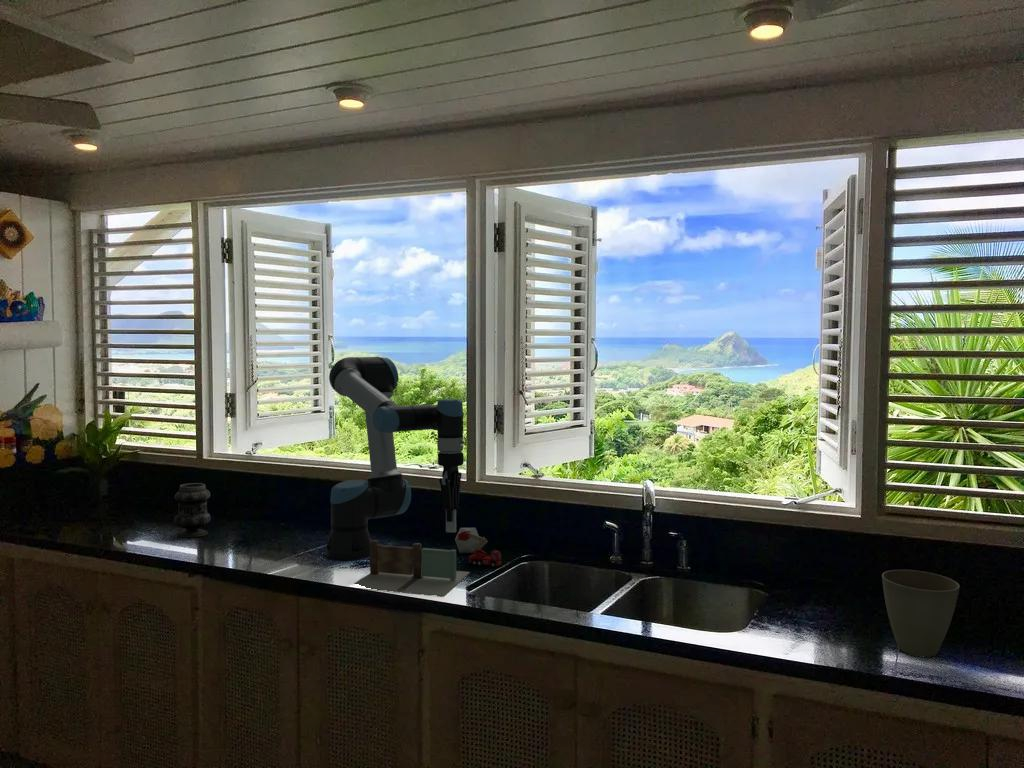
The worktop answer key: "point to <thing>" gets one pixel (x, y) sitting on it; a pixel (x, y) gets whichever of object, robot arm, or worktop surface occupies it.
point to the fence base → (396, 559)
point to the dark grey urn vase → (192, 509)
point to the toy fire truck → (480, 555)
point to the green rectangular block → (439, 563)
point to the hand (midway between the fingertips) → (451, 531)
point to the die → (467, 541)
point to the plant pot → (919, 609)
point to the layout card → (411, 583)
